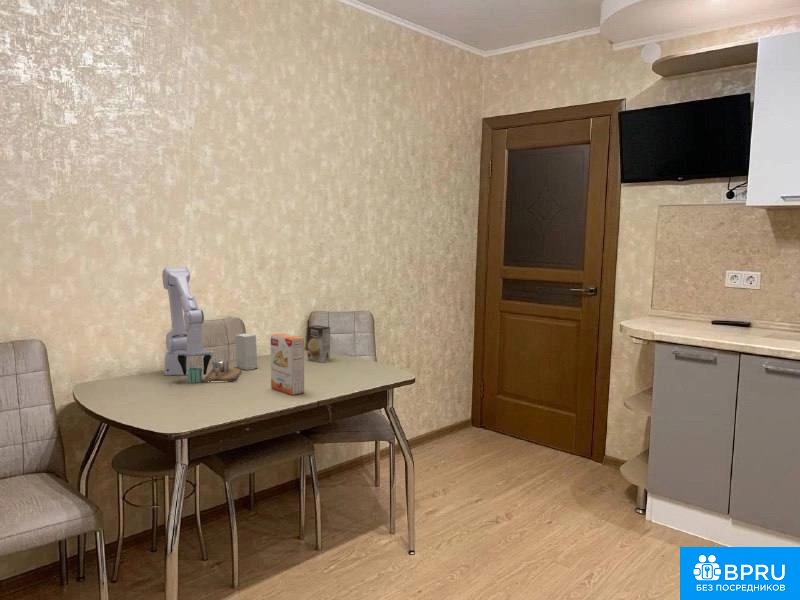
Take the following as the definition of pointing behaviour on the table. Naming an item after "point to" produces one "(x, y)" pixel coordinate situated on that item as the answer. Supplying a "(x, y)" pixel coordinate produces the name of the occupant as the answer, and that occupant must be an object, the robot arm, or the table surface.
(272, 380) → the cracker box
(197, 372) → the green grooved hollow block
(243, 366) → the skincare box
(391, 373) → the table surface
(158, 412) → the table surface
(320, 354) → the coffee box
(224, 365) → the fixed gear
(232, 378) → the gear board
